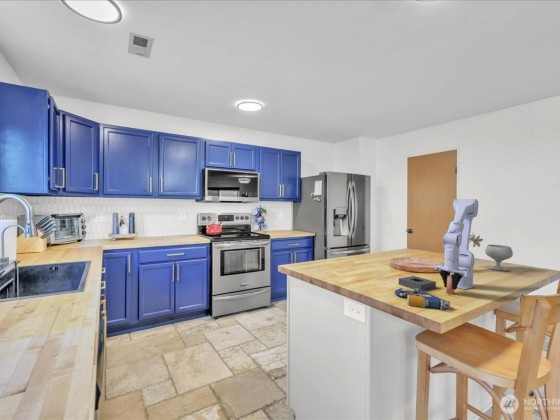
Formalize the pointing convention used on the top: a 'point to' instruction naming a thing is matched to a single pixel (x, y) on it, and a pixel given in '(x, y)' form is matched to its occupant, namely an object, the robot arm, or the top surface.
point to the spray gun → (422, 298)
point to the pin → (449, 285)
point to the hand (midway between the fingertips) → (450, 288)
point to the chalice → (498, 255)
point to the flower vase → (475, 240)
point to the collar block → (417, 283)
